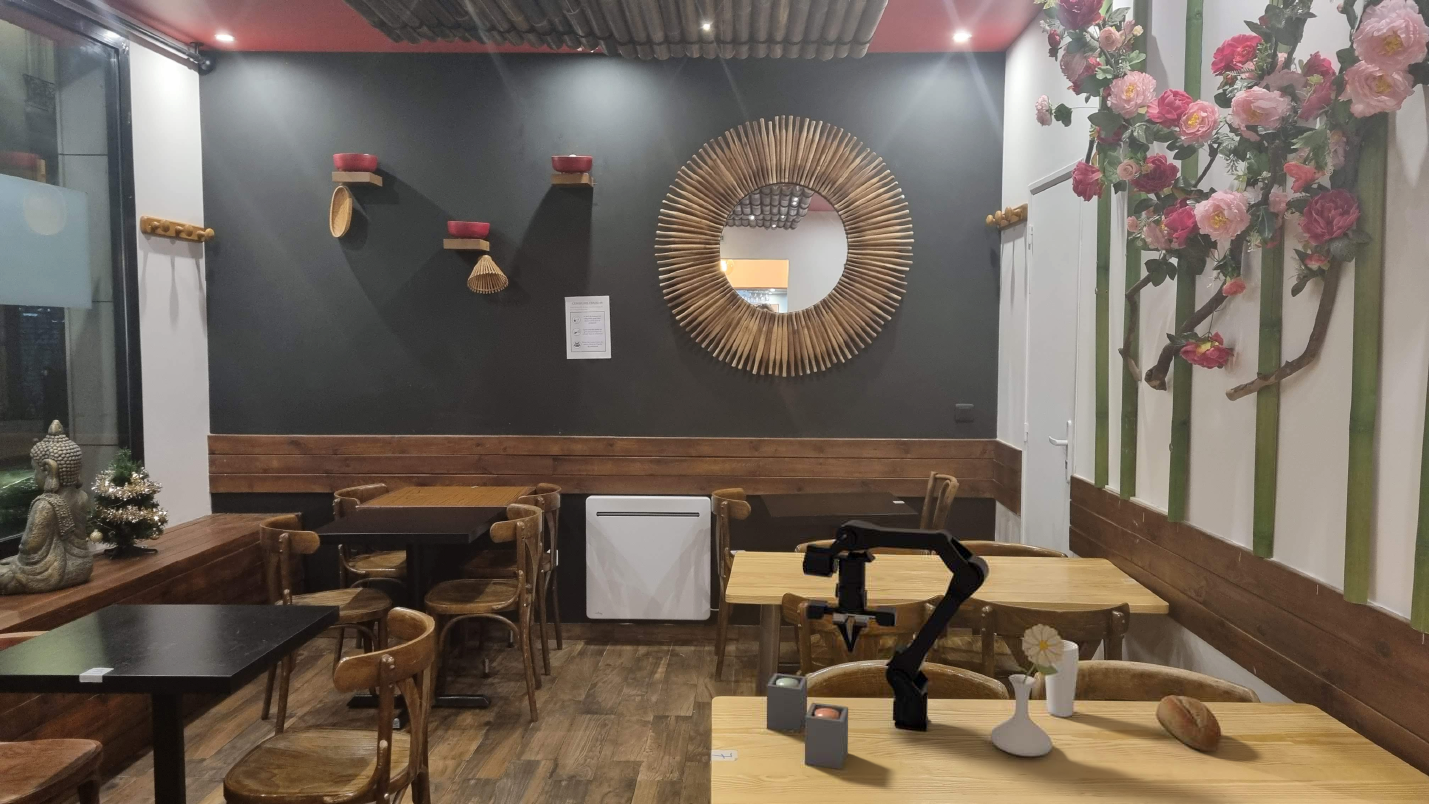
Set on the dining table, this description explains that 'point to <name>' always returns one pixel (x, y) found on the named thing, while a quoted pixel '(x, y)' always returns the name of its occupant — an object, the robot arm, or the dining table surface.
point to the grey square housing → (826, 737)
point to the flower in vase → (1020, 729)
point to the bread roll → (1189, 721)
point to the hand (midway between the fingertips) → (850, 652)
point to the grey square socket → (786, 704)
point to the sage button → (787, 682)
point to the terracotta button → (827, 713)
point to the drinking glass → (1063, 682)
